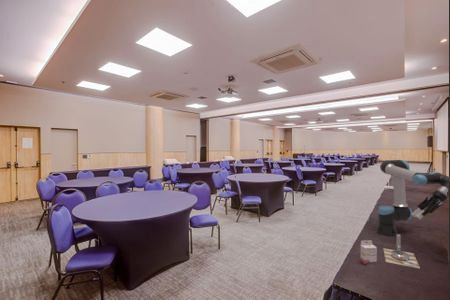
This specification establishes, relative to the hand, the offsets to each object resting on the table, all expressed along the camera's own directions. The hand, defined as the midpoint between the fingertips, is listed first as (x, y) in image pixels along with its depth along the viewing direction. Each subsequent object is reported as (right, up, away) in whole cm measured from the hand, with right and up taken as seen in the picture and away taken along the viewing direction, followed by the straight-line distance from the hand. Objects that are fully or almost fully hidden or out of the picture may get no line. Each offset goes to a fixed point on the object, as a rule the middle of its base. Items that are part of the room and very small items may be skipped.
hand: (415, 216), depth 165 cm
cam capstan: (-14, -27, -4) cm, 31 cm away
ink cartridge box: (-37, -30, -6) cm, 48 cm away
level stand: (-14, -29, -4) cm, 32 cm away
